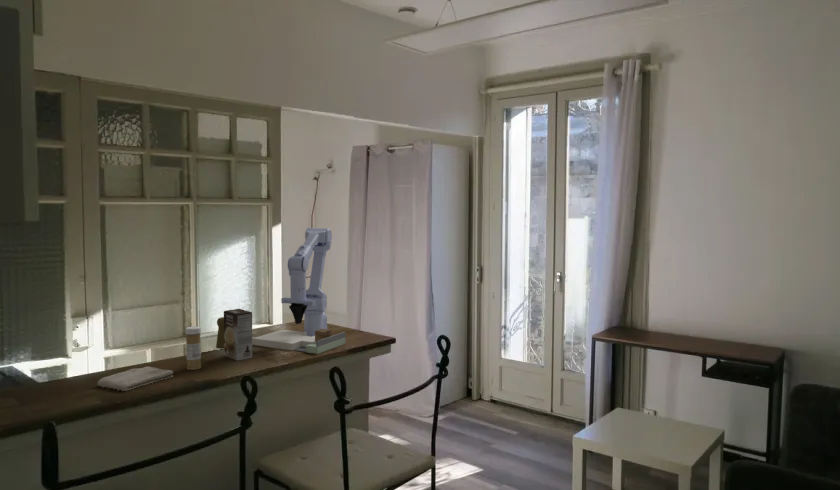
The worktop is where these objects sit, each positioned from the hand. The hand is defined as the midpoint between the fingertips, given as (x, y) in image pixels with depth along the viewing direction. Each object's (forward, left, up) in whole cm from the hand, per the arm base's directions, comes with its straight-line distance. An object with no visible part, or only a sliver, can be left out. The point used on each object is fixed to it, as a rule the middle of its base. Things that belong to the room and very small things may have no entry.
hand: (298, 323), depth 227 cm
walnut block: (0, +12, -6) cm, 13 cm away
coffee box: (+25, -7, -8) cm, 27 cm away
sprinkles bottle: (+43, -9, -8) cm, 45 cm away
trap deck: (0, 0, -8) cm, 8 cm away
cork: (+16, -22, -8) cm, 28 cm away
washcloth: (+61, -12, -9) cm, 63 cm away
